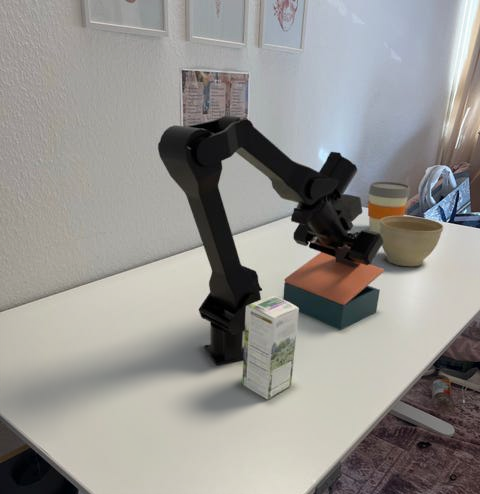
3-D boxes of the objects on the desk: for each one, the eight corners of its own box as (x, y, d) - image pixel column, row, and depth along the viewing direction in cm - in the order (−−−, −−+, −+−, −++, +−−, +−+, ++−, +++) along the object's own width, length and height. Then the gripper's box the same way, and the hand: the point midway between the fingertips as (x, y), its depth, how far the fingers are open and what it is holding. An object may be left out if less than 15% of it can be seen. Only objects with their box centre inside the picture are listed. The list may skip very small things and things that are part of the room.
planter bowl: (448, 267, 128) (457, 228, 123) (399, 274, 123) (406, 233, 118) (408, 249, 142) (415, 213, 137) (362, 255, 136) (368, 217, 131)
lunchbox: (319, 290, 113) (321, 269, 110) (376, 312, 102) (380, 289, 100) (282, 304, 105) (284, 282, 103) (340, 330, 95) (343, 306, 92)
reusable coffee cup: (407, 230, 160) (415, 184, 154) (396, 239, 151) (404, 191, 144) (370, 224, 166) (376, 180, 160) (358, 232, 157) (364, 185, 150)
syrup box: (265, 372, 80) (270, 293, 74) (292, 387, 77) (299, 305, 70) (241, 385, 77) (243, 303, 70) (268, 401, 73) (273, 316, 67)
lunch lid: (324, 252, 109) (322, 232, 106) (383, 272, 99) (383, 250, 95) (284, 282, 103) (281, 261, 99) (344, 305, 92) (342, 283, 89)
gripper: (385, 191, 86) (407, 238, 97) (306, 176, 98) (334, 219, 109) (354, 242, 84) (380, 284, 96) (277, 220, 97) (309, 260, 108)
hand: (349, 259), depth 103 cm, fingers closed on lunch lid, 5 cm apart
